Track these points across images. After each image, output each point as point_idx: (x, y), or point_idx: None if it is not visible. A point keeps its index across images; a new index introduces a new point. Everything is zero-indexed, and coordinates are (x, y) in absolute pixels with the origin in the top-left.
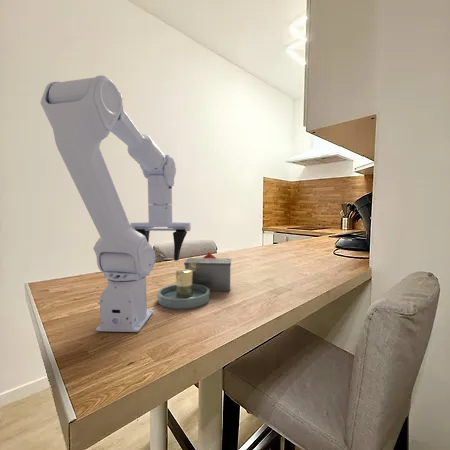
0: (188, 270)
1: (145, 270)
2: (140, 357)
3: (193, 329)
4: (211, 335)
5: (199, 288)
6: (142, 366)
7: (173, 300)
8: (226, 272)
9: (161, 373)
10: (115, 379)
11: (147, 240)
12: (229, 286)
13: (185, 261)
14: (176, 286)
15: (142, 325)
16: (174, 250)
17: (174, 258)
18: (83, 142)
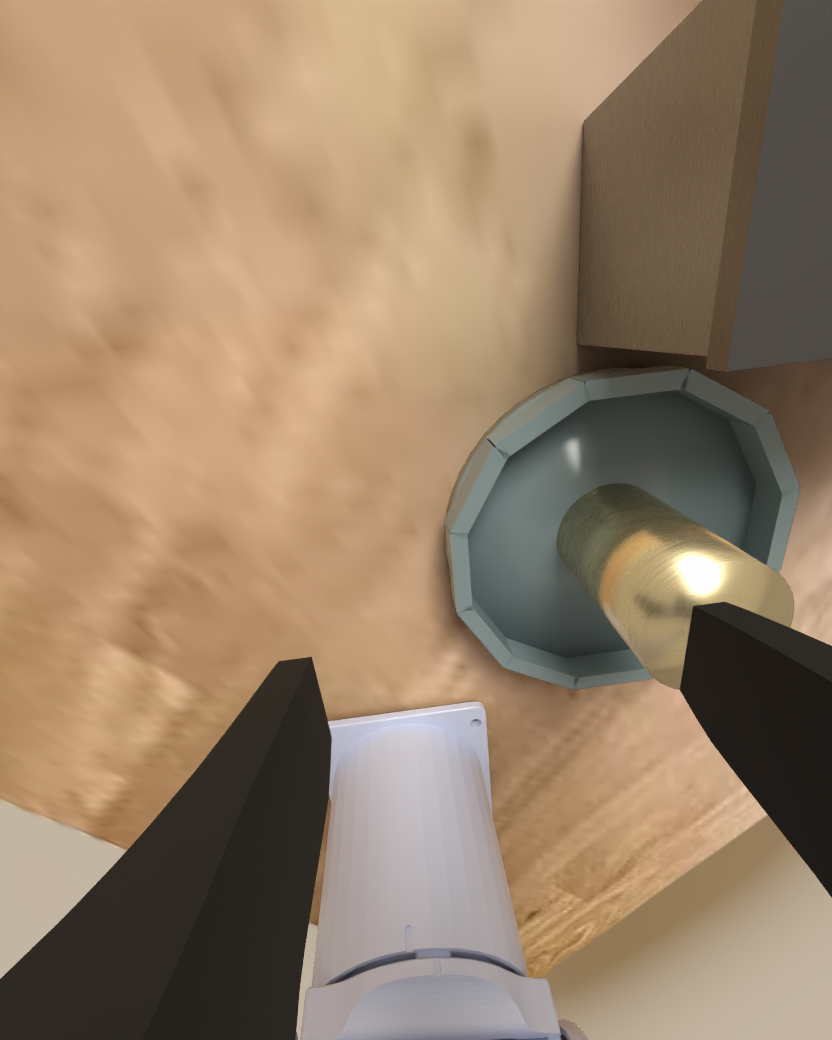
0: (756, 599)
1: None
2: (546, 898)
3: (668, 777)
4: (726, 795)
5: (714, 410)
6: (562, 916)
7: (581, 684)
8: None
9: (610, 922)
10: (523, 948)
11: (212, 1029)
12: None
13: (744, 261)
14: (592, 599)
15: (491, 808)
16: (790, 839)
17: (701, 718)
18: None
